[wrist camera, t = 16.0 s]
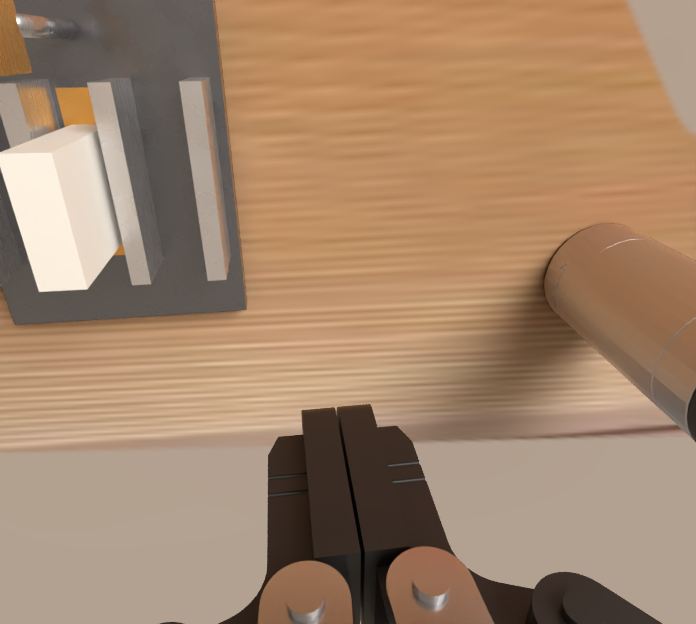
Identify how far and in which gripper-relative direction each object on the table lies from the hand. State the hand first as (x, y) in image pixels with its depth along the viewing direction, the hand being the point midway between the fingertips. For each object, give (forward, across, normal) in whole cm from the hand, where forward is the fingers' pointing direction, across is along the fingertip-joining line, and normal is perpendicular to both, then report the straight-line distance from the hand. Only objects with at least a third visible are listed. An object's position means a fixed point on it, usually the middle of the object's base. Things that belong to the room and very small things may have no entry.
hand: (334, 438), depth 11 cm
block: (+27, +12, 0) cm, 30 cm away
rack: (+29, +13, 0) cm, 32 cm away
